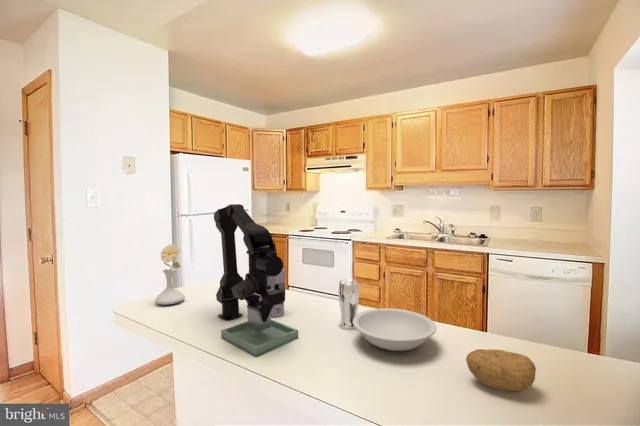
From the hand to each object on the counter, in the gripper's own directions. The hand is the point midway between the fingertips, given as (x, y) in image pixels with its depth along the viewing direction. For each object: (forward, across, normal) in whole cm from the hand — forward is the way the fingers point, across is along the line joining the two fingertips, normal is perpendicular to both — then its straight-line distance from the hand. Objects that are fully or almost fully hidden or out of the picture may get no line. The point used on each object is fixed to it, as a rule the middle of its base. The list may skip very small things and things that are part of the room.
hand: (259, 319), depth 100 cm
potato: (+6, +62, +21) cm, 66 cm away
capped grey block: (+2, 0, 0) cm, 2 cm away
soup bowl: (+6, +33, +24) cm, 41 cm away
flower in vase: (+6, -55, -4) cm, 55 cm away
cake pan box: (+6, -17, +17) cm, 25 cm away
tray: (+6, 0, 0) cm, 6 cm away
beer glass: (+6, +15, +26) cm, 31 cm away
